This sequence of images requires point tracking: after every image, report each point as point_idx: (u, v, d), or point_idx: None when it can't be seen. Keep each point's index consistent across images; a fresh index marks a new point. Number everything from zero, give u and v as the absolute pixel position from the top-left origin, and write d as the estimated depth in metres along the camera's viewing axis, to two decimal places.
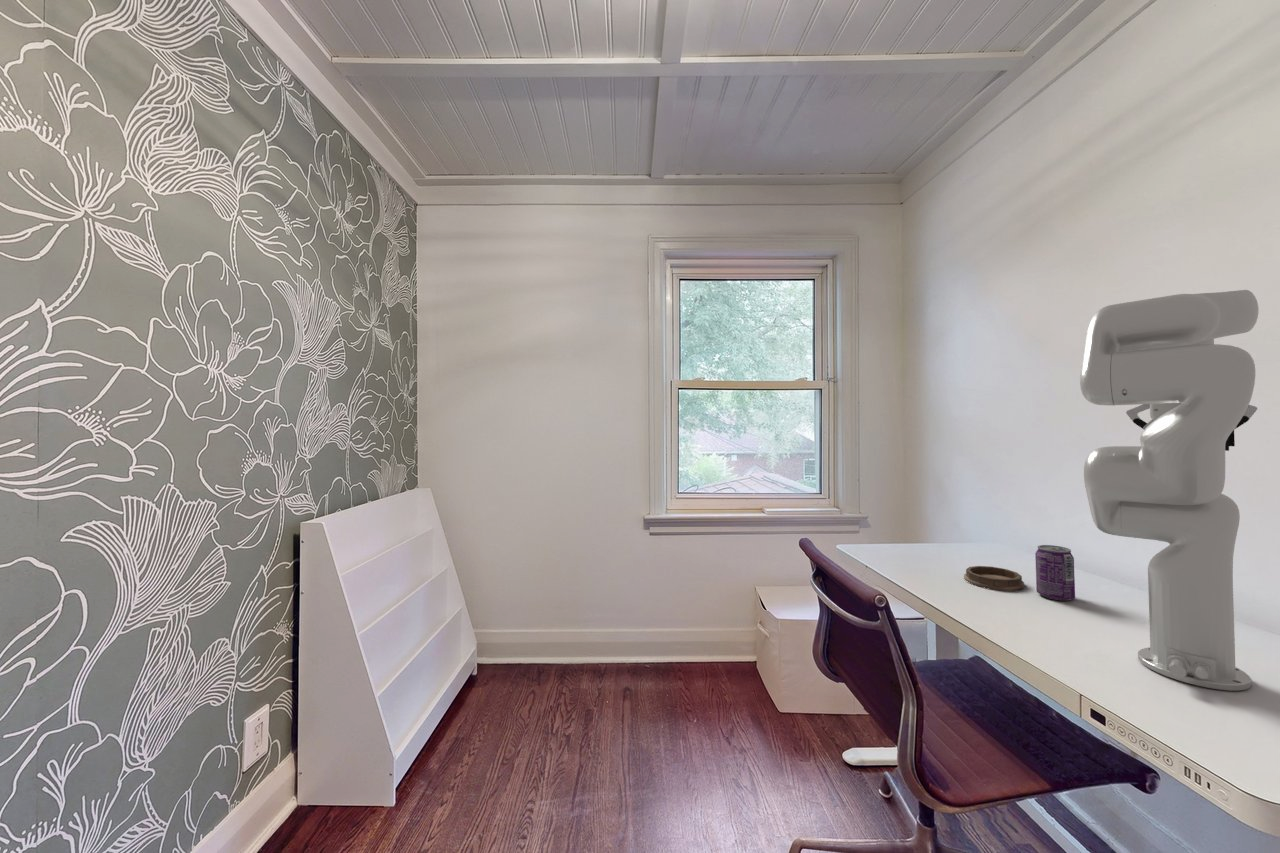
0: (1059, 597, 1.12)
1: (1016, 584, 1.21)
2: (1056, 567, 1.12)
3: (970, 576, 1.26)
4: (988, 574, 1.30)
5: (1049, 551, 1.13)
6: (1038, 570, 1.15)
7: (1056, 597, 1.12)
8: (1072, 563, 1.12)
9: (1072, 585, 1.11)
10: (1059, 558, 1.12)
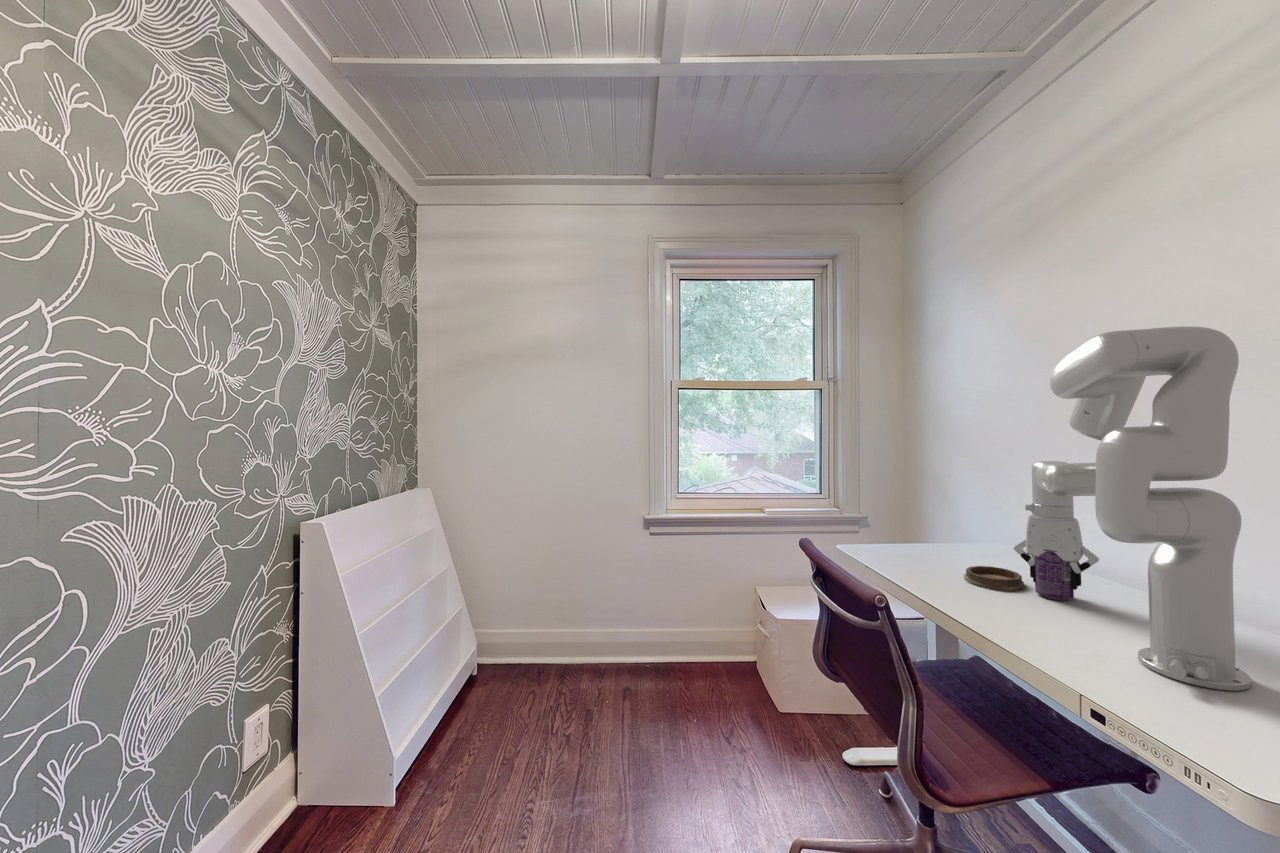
0: (1058, 597, 1.12)
1: (1016, 584, 1.21)
2: (1055, 567, 1.12)
3: (970, 576, 1.26)
4: (988, 574, 1.30)
5: (1048, 551, 1.13)
6: (1037, 570, 1.16)
7: (1055, 597, 1.12)
8: None
9: (1070, 584, 1.12)
10: (1058, 557, 1.12)
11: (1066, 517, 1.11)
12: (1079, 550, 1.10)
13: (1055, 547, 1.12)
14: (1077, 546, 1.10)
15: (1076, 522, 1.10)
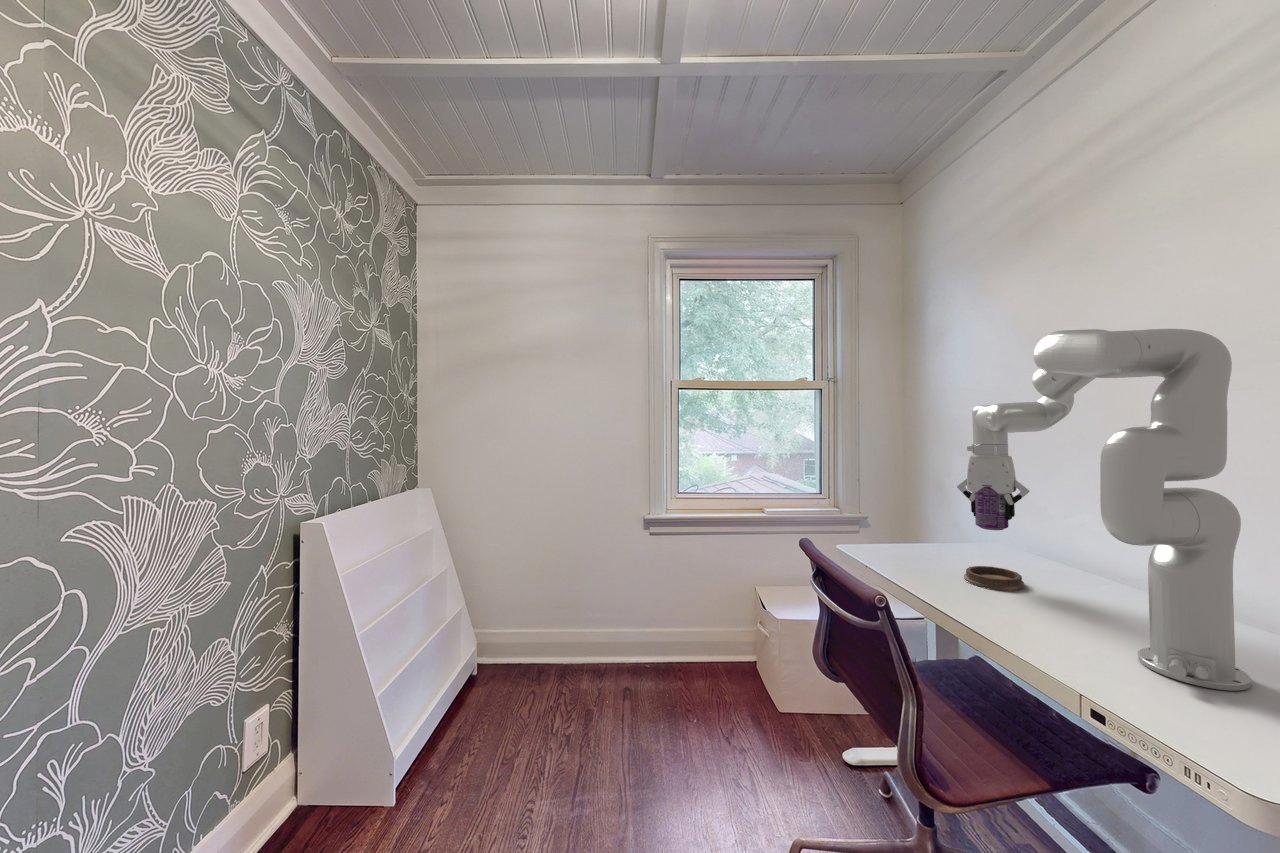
0: (993, 527, 1.23)
1: (1016, 584, 1.21)
2: (991, 499, 1.23)
3: (970, 576, 1.26)
4: (988, 574, 1.30)
5: None
6: (976, 504, 1.27)
7: (991, 527, 1.23)
8: None
9: (1005, 515, 1.23)
10: (994, 491, 1.23)
11: (1000, 454, 1.22)
12: (1011, 483, 1.21)
13: (991, 481, 1.23)
14: (1010, 480, 1.21)
15: (1009, 458, 1.21)
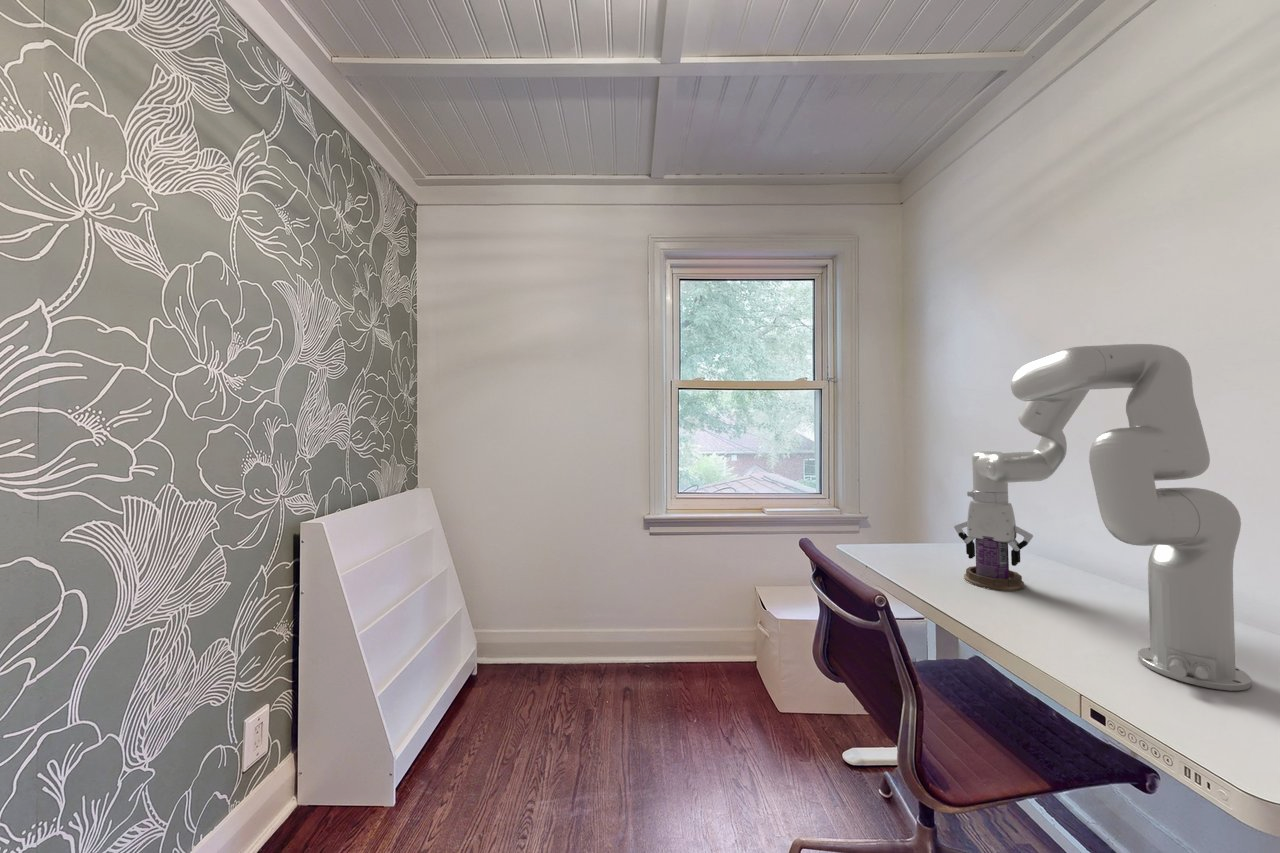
0: None
1: (1016, 584, 1.21)
2: (991, 552, 1.23)
3: (970, 576, 1.26)
4: None
5: (986, 537, 1.25)
6: (977, 555, 1.27)
7: None
8: (1006, 548, 1.23)
9: (1005, 568, 1.23)
10: (994, 543, 1.23)
11: (1001, 502, 1.22)
12: (1012, 532, 1.21)
13: (991, 529, 1.24)
14: (1010, 528, 1.21)
15: (1009, 506, 1.22)
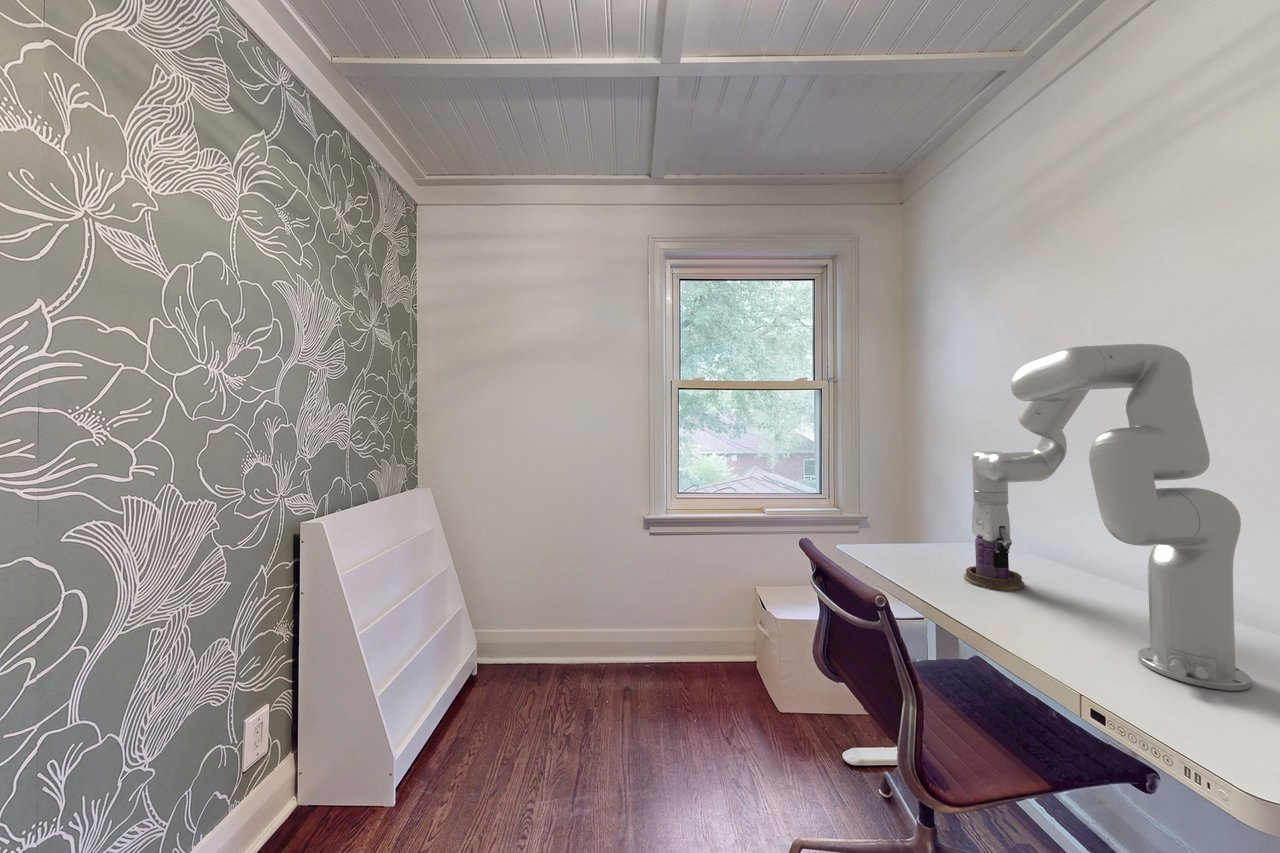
0: None
1: (1016, 584, 1.21)
2: (991, 551, 1.23)
3: (970, 576, 1.26)
4: None
5: None
6: (977, 555, 1.27)
7: None
8: None
9: (1005, 568, 1.23)
10: None
11: (986, 501, 1.24)
12: (992, 531, 1.22)
13: (981, 527, 1.26)
14: (990, 528, 1.22)
15: (994, 507, 1.22)
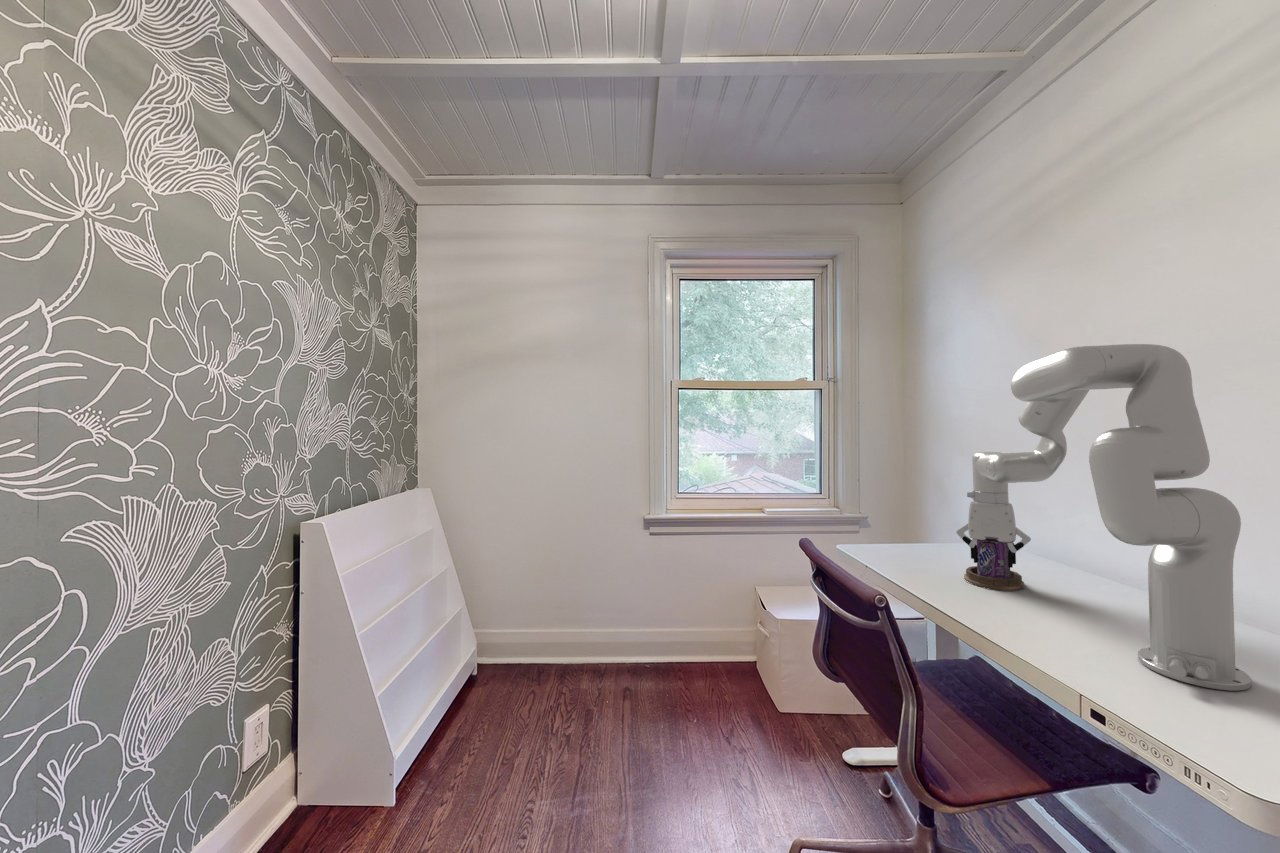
0: None
1: (1016, 584, 1.21)
2: None
3: (970, 576, 1.26)
4: None
5: None
6: (1006, 559, 1.23)
7: None
8: None
9: None
10: None
11: (1003, 502, 1.22)
12: (1014, 532, 1.21)
13: (994, 529, 1.23)
14: (1013, 528, 1.21)
15: (1011, 506, 1.22)
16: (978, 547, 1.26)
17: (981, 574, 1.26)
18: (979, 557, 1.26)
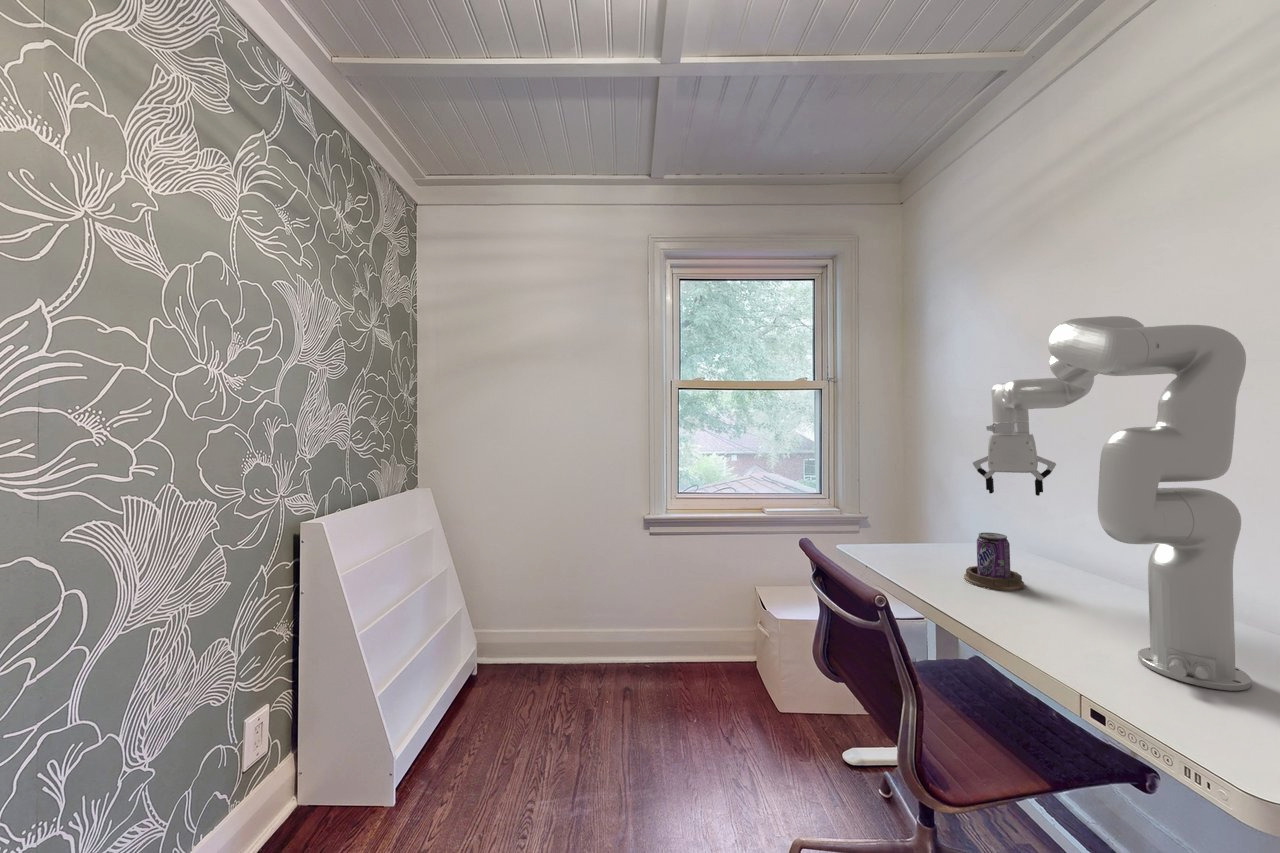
0: None
1: (1016, 584, 1.21)
2: None
3: (970, 576, 1.26)
4: None
5: (1006, 537, 1.24)
6: (1006, 559, 1.22)
7: None
8: None
9: None
10: None
11: (1023, 431, 1.21)
12: (1035, 461, 1.19)
13: (1014, 460, 1.22)
14: (1034, 457, 1.19)
15: (1032, 436, 1.20)
16: (978, 547, 1.26)
17: (981, 574, 1.26)
18: (979, 557, 1.26)
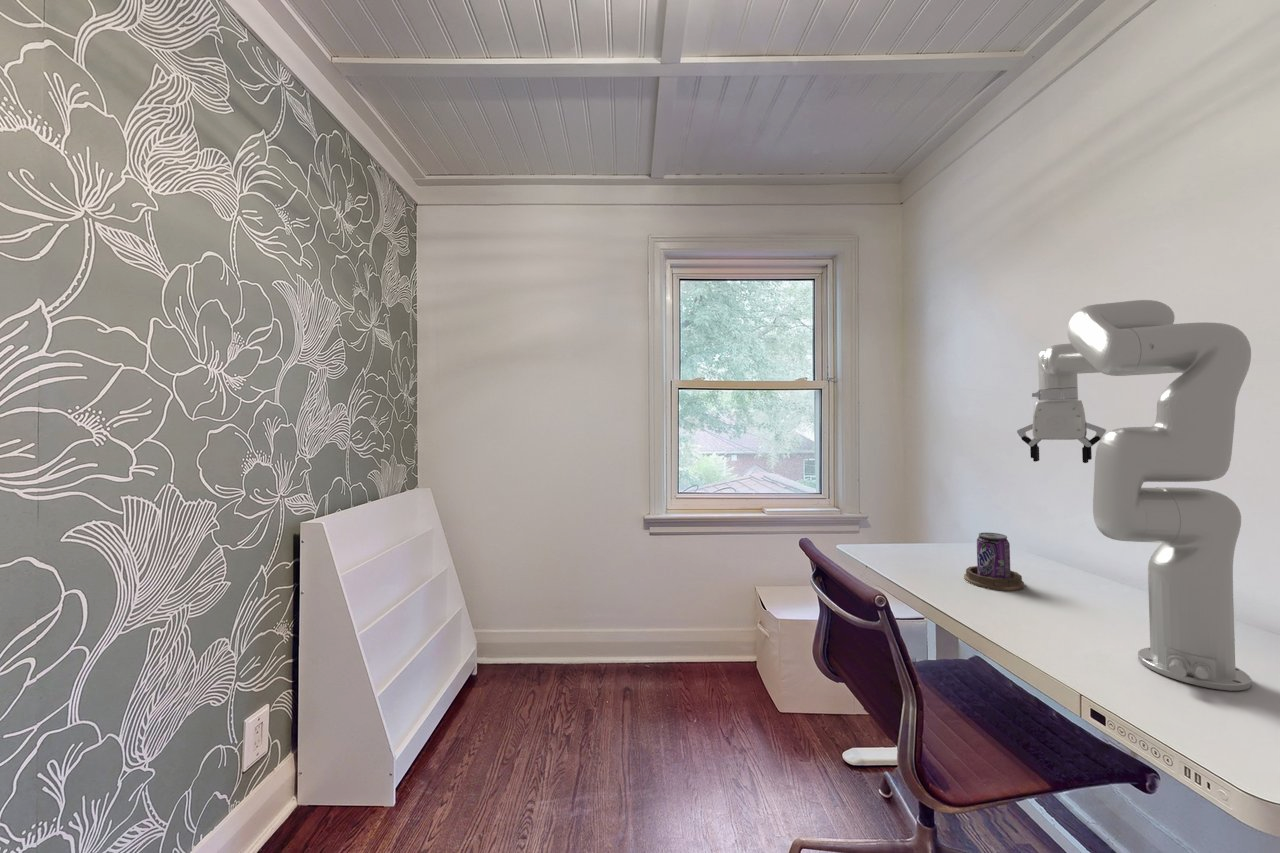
0: None
1: (1016, 584, 1.21)
2: None
3: (970, 576, 1.26)
4: None
5: (1006, 537, 1.24)
6: (1006, 559, 1.22)
7: None
8: None
9: None
10: None
11: (1071, 397, 1.18)
12: (1083, 427, 1.16)
13: (1060, 427, 1.19)
14: (1081, 424, 1.16)
15: (1080, 402, 1.17)
16: (978, 547, 1.26)
17: (981, 574, 1.26)
18: (979, 557, 1.26)
